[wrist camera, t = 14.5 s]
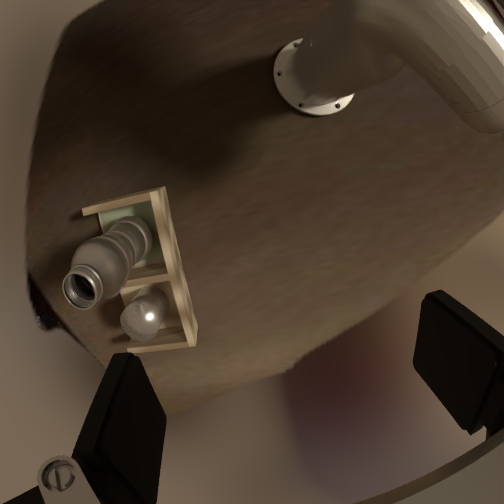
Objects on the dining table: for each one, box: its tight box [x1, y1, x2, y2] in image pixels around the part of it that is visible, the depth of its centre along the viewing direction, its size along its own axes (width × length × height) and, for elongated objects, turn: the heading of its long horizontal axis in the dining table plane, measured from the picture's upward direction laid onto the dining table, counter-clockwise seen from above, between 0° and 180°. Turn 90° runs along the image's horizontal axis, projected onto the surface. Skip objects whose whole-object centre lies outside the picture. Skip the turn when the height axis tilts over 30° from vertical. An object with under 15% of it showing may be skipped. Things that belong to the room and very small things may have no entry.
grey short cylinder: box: [120, 286, 169, 341], centre depth 42 cm, size 6×6×7 cm
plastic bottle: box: [62, 216, 153, 310], centre depth 33 cm, size 6×7×20 cm
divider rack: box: [82, 186, 198, 353], centre depth 42 cm, size 23×11×6 cm, turn 9°
